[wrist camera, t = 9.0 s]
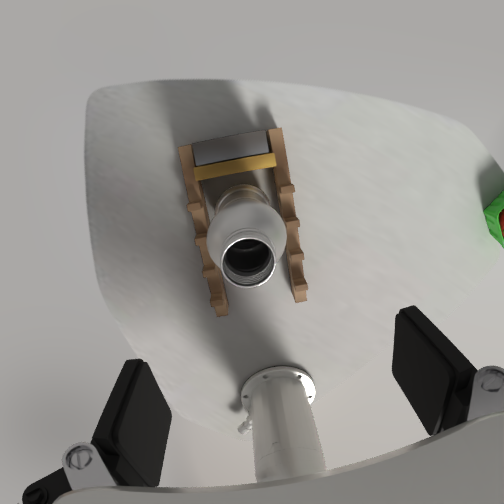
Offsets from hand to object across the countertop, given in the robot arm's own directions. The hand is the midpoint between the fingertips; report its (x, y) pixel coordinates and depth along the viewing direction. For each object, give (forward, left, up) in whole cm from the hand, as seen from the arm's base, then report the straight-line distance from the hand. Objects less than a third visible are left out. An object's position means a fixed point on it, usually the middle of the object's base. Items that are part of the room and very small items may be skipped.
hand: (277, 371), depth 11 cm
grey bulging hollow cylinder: (0, +1, -31) cm, 31 cm away
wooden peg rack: (-2, -1, -30) cm, 30 cm away
